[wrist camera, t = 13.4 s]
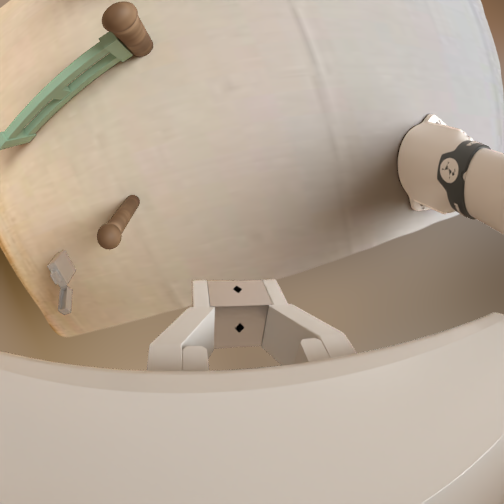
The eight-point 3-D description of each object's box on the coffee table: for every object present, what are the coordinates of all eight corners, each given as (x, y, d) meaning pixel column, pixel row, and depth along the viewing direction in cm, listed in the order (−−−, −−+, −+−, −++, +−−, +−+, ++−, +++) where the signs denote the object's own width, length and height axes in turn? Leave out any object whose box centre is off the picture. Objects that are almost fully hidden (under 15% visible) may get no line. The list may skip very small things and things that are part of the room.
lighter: (57, 252, 36) (36, 278, 29) (64, 249, 36) (44, 275, 29) (77, 287, 39) (62, 317, 32) (85, 285, 39) (70, 315, 32)
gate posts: (156, 35, 26) (137, -6, 13) (144, 210, 36) (121, 256, 24) (131, 37, 25) (101, -1, 13) (122, 210, 36) (90, 256, 24)
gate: (133, 55, 26) (117, 39, 19) (29, 142, 27) (-2, 150, 20) (128, 47, 25) (111, 29, 18) (25, 134, 26) (-7, 141, 19)
